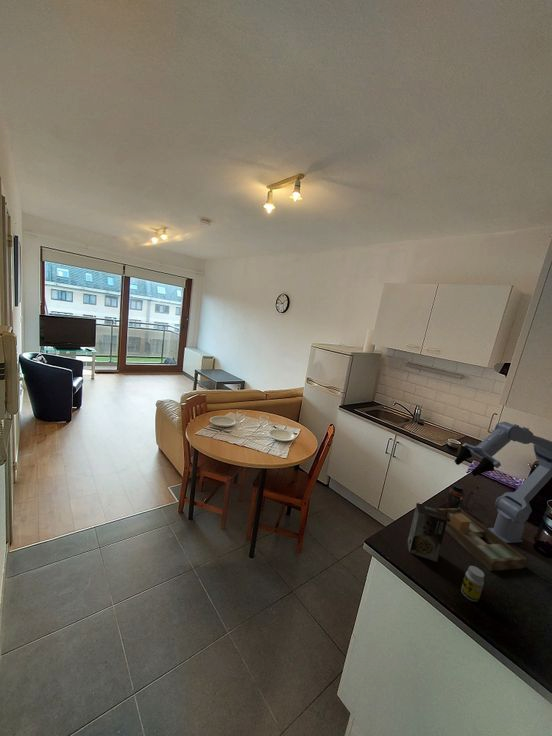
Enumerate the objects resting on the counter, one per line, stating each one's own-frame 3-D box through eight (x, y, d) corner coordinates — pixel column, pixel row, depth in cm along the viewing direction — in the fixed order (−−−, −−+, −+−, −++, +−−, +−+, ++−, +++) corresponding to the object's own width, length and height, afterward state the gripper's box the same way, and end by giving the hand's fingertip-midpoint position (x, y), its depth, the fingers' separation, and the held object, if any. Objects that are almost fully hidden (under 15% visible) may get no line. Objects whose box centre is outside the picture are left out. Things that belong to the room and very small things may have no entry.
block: (458, 523, 119) (460, 514, 119) (467, 530, 115) (470, 521, 114) (449, 523, 118) (452, 514, 117) (459, 531, 114) (461, 522, 113)
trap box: (458, 515, 129) (460, 508, 129) (524, 567, 102) (527, 558, 102) (429, 516, 125) (431, 508, 125) (490, 571, 98) (493, 561, 98)
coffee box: (433, 550, 104) (443, 510, 102) (437, 562, 98) (448, 521, 96) (406, 540, 107) (416, 501, 105) (408, 552, 101) (419, 511, 99)
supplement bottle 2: (456, 587, 89) (463, 563, 88) (470, 588, 90) (477, 564, 89) (468, 602, 85) (475, 577, 83) (482, 602, 85) (490, 578, 84)
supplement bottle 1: (462, 513, 131) (468, 491, 129) (448, 510, 132) (454, 488, 130) (456, 506, 137) (462, 484, 135) (443, 502, 138) (449, 481, 136)
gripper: (470, 430, 116) (445, 452, 115) (505, 448, 102) (477, 472, 101) (477, 442, 118) (452, 463, 117) (512, 460, 104) (484, 484, 104)
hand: (464, 468), depth 109 cm, fingers open, 7 cm apart
